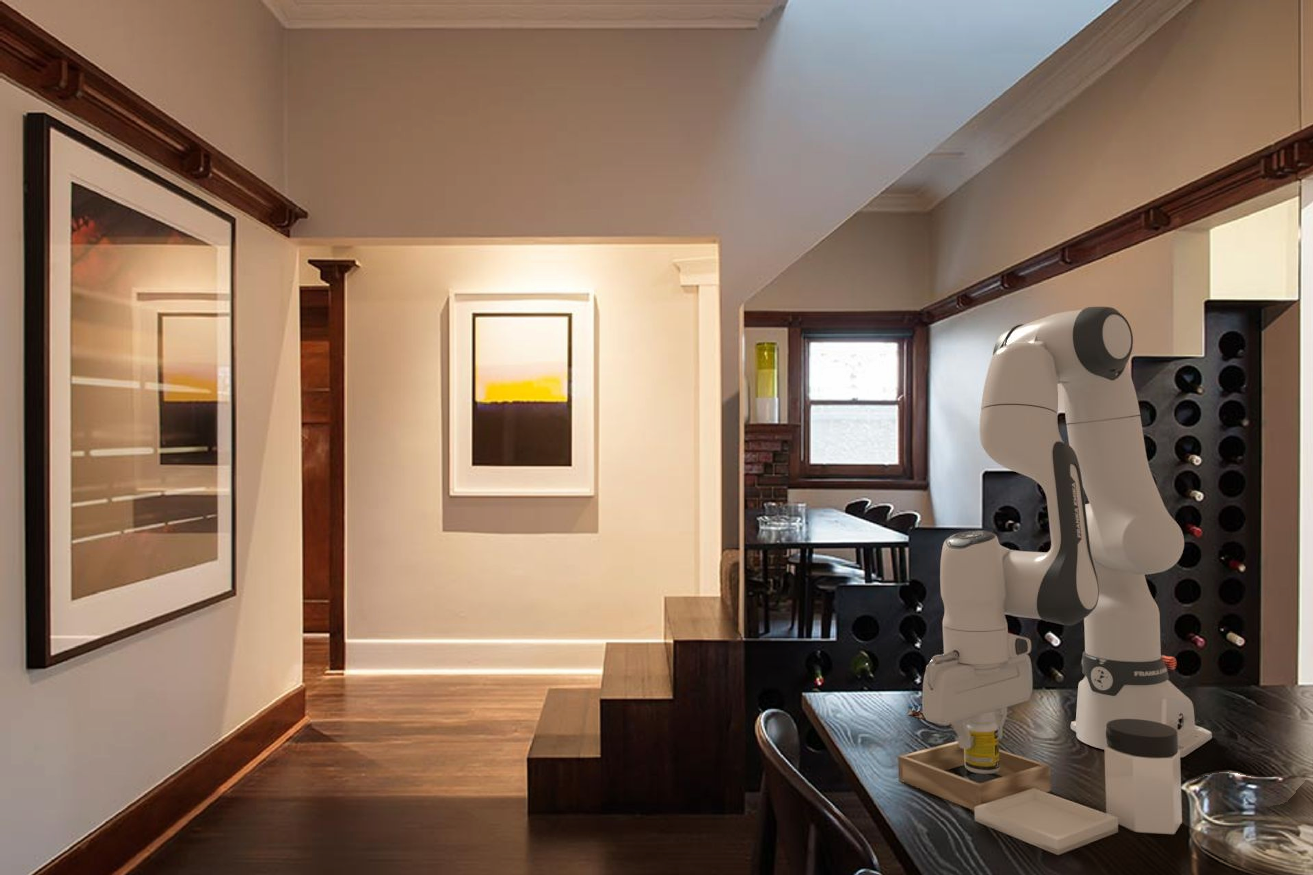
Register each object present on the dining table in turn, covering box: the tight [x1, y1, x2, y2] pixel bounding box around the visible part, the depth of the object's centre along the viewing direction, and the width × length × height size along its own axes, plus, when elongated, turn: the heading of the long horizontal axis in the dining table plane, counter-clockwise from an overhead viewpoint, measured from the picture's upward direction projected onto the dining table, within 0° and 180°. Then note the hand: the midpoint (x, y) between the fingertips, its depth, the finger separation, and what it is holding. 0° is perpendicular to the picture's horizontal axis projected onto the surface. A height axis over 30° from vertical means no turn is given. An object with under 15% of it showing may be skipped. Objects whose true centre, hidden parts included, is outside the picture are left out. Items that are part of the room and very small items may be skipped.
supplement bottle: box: [964, 711, 1000, 775], centre depth 129 cm, size 5×5×8 cm
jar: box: [1104, 719, 1183, 835], centre depth 116 cm, size 9×8×12 cm
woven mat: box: [907, 703, 954, 729], centre depth 163 cm, size 10×11×2 cm
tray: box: [974, 788, 1119, 856], centre depth 114 cm, size 12×12×2 cm
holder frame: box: [897, 740, 1052, 812], centre depth 129 cm, size 15×15×4 cm
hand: (980, 743), depth 129 cm, fingers closed on supplement bottle, 5 cm apart
